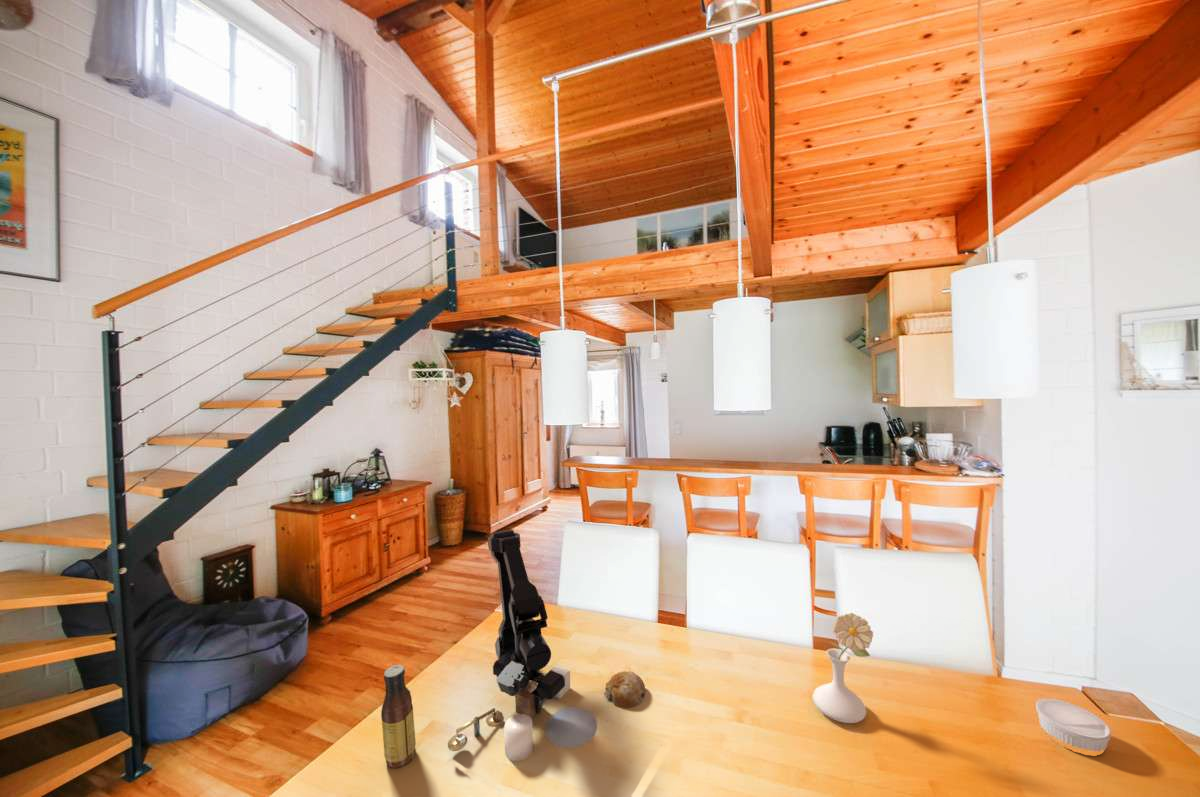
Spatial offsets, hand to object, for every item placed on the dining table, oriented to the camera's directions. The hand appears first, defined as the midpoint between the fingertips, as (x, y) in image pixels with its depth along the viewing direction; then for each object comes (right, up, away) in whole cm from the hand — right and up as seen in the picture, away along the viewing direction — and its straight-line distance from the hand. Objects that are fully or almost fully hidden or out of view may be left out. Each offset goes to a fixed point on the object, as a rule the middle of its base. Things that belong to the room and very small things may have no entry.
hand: (529, 708), depth 107 cm
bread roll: (+24, -1, +5) cm, 24 cm away
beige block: (+7, -1, +7) cm, 9 cm away
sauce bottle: (-26, -3, -12) cm, 29 cm away
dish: (+11, -1, -6) cm, 12 cm away
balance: (-11, -2, -7) cm, 13 cm away
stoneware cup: (0, -2, -12) cm, 12 cm away
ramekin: (+121, +1, -11) cm, 121 cm away
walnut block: (0, -2, 0) cm, 2 cm away
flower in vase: (+76, 0, -2) cm, 76 cm away
